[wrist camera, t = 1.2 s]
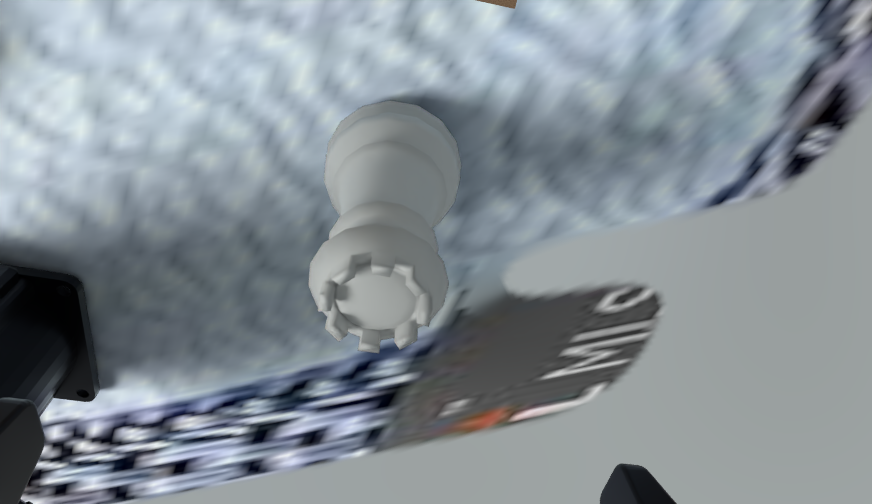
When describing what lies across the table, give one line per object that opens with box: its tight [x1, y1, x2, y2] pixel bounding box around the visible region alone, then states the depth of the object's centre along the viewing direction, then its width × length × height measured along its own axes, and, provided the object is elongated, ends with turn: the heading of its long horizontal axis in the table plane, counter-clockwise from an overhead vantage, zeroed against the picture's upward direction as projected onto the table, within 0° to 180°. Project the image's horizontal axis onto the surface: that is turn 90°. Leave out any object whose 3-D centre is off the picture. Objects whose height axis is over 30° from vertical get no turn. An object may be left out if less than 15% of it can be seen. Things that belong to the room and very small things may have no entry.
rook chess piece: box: [308, 100, 461, 353], centre depth 16 cm, size 4×4×8 cm
